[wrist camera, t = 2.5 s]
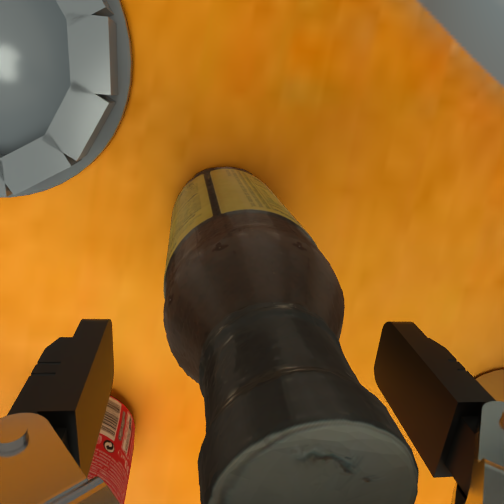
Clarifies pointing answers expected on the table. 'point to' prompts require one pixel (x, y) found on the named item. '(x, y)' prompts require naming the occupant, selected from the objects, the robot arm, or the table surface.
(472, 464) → the robot arm
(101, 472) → the soda can
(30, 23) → the slate dish
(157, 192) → the table surface
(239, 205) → the sauce bottle
